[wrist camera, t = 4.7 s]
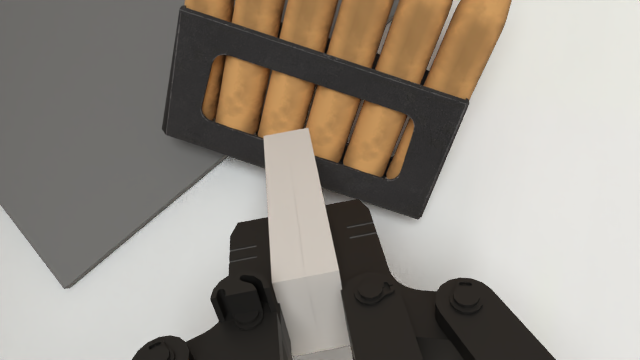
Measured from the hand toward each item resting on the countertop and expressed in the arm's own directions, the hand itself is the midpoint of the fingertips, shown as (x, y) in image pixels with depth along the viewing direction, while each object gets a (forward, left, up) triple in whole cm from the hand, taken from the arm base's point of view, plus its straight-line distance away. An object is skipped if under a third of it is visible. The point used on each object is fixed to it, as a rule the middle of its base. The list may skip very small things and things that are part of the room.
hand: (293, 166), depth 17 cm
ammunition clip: (0, 0, -3) cm, 3 cm away
